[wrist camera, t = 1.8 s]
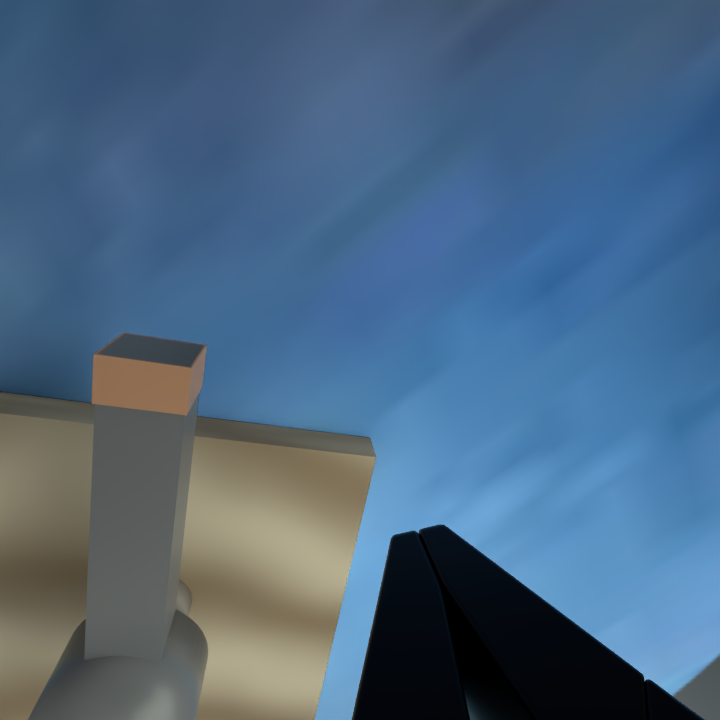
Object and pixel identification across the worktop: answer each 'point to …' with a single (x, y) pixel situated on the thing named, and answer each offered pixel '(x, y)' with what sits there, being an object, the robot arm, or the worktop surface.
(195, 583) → the stud base
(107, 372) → the grey elongated piece
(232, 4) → the worktop surface
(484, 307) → the worktop surface
